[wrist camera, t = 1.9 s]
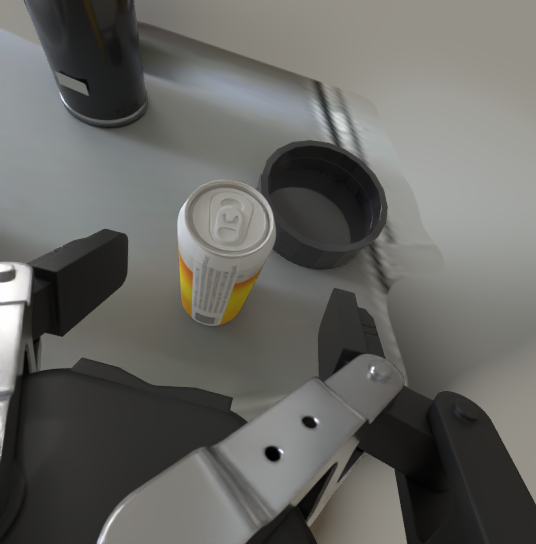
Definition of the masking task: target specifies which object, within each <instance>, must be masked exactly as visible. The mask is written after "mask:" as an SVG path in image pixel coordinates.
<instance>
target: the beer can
mask: <svg viewBox="0 0 536 544" xmlns="http://www.w3.org/2000/svg"><path fill="white" fill-rule="evenodd" d="M177 228H178V247H179V265H180V283H181V300H182V304H183V307H184V309H185V311H186V312H187V314H188V315H189V316H190V317H191V318H192V319H194V320H195V321H197V322H199V323H201V324H204V325H209V326H217V325H222V324H225V323H227V322H229V321H231V320H232V319H233V318H235V317H236V316H237V315H238V313H239V312H240V310H241V308H242V306H243V304H244V302H245V300H246V299H247V297H248V295H249V293H250V291H251V289H252V287H253V285H254V283H255V281H256V279H257V277H258V275H259V273H260V271H261V269H262V267H263V265H264V264H265V262H266V260H267V258H268V256H269V254H270V252H271V250H272V248H273V246H274V243H275V239H276V226H275V222H274V216H273V212H272V209H271V207H270V205H269V203H268V201H267V200H266V199H265V198H264V196H263V195H262V194H261V193H259V192H258V191H257V190H256V189H254V188H252V187H251V186H249V185H247V184H244V183H242V182H238V181H233V180H216V181H212V182H209V183H206V184H204V185H202V186H200V187H199V188H197V189H196V190H195V191H194V192H193V193H192V194H191V196H190V197H189V199H188V200H187V201H186V202H185V204H184V205H183V206H182V208H181V210H180V213H179V216H178V222H177Z"/></svg>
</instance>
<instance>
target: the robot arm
mask: <svg viewBox="0 0 536 544" xmlns="http://www.w3.org/2000/svg"><path fill="white" fill-rule="evenodd" d="M24 2H25V4H26V7H27V10H28V12H29V15H30V17H31V19H32V22H33V25H34V27H35V29H36V32H37V35H38V37H39V40H40V42H41V45H42V47H43V50H44V52H45V55H46V57H47V60H48V62H49V65H50V67H51V70H52V73H53V75H54V78H55V80H56V83H57V85H58V88H59V90H60V95H61V98H62V100H63V103H64V105H65V107H66V109H67V110H68V111H69V112H70V113H71V114H72V115H73V116H74V117H76V118H77V119H79V120H81V121H83V122H85V123H87V124H91V125H94V126H100V127H118V126H123V125H127V124H129V123H132V122H134V121H135V120H137V119H138V118H140V117H141V116H142V115H143V113H144V112H145V110H146V108H147V104H148V99H147V91H146V88H145V83H144V75H143V66H142V58H141V51H140V43H139V36H138V28H137V20H136V13H135V5H134V0H24ZM127 269H128V237H127V235H126V234H124V233H120V232H116V231H112V230H108V229H103V230H101V231H99V232H97V233H95V234H93V235H91V236H89V237H87V238H82V239H78V240H74V241H71V242H69V243H67V244H65V245H63V247H59V248H57V249H55V250H54V251H53V252H49V253H47V254H45V255H43V256H41V257H39V258H37V259H35V260H33V261H31V262H29V263H27V264H24V263H19V262H0V544H317V542H316V540H315V538H314V536H313V534H312V532H311V531H310V529H309V527H310V525H311V524H312V523H313V522H314V520H315V519H316V517H317V516H318V515H319V513H320V512H321V510H322V509H323V507H324V506H325V504H326V503H327V501H328V500H329V498H330V497H331V496H332V494H333V493H334V492H335V490H336V489H337V488H338V487H339V486H340V484H341V483H342V482H343V481H344V479H345V478H346V477H347V476H348V474H349V473H350V472H351V471H352V470H353V468H354V467H355V466H356V465H357V464H358V462H359V461H360V460H361V459H362V457H363V456H364V455H365V454H366V452H367V453H368V454H370V455H372V456H373V457H375V458H377V459H379V460H380V461H382V462H384V463H386V464H388V465H389V466H391V467H392V468H394V469H395V475H396V481H397V486H398V493H399V498H400V504H401V510H402V515H403V521H404V527H405V533H406V539H407V544H536V504H535V502H534V500H533V498H532V496H531V495H530V493H529V491H528V489H527V487H526V485H525V483H524V481H523V480H522V478H521V476H520V474H519V472H518V470H517V468H516V466H515V464H514V463H513V461H512V459H511V457H510V455H509V453H508V451H507V449H506V447H505V446H504V444H503V442H502V440H501V438H500V436H499V434H498V432H497V431H496V429H495V427H494V425H493V423H492V421H491V419H490V418H489V417H488V415H487V414H486V413H485V412H484V411H483V410H482V409H481V408H480V407H479V406H478V405H477V404H475V403H474V402H473V401H471V400H469V399H468V398H466V397H464V396H462V395H460V394H457V393H454V392H449V391H443V392H440V393H438V394H437V396H436V397H435V399H434V400H431V399H428V398H427V397H425V396H423V395H421V394H419V393H416V392H414V391H413V390H411V389H409V388H407V387H406V386H404V378H403V375H402V374H401V372H400V371H399V370H398V369H397V367H395V366H394V365H393V364H392V363H391V362H389V361H387V360H386V359H385V356H384V353H383V350H382V346H381V343H380V340H379V337H378V333H377V330H376V326H375V323H374V320H373V318H372V316H371V315H370V314H369V313H368V312H367V311H366V309H363V308H359V307H358V306H357V302H356V297H355V294H354V293H352V292H348V291H344V290H340V289H337V288H334V289H333V291H332V293H331V296H330V299H329V302H328V304H327V307H326V310H325V313H324V316H323V319H322V321H321V325H320V328H319V334H318V359H319V378H318V377H313V378H311V379H309V380H308V381H306V382H305V383H304V384H302V385H301V386H299V387H298V388H296V389H295V390H294V391H292V392H291V393H289V394H288V395H286V396H285V397H284V398H282V399H281V400H279V401H278V402H276V403H275V404H274V405H272V406H271V407H269V408H268V409H266V410H265V411H264V412H262V413H261V414H259V415H258V416H257V417H255V418H254V419H252V420H251V421H249V422H247V421H246V420H245V419H243V418H242V417H241V416H239V415H238V414H236V413H234V412H233V411H231V410H230V408H231V404H232V400H233V398H232V397H228V396H224V395H221V394H217V393H213V392H209V391H206V390H202V389H198V388H190V387H171V386H155V385H151V384H149V383H147V382H145V381H143V380H141V379H139V378H137V377H136V376H134V375H132V374H130V373H128V372H126V371H125V370H123V369H121V368H119V367H115V366H112V365H108V364H104V363H100V362H97V361H93V360H89V359H85V358H81V359H80V360H79V361H78V362H77V363H76V364H75V365H74V366H73V367H72V368H62V369H50V370H43V371H40V370H41V347H42V343H41V335H43V334H44V333H45V332H46V333H50V334H53V335H57V336H61V337H63V336H64V335H65V334H66V333H67V332H68V331H70V330H71V329H72V328H73V327H74V326H75V325H77V324H78V323H79V322H80V321H81V320H82V319H84V318H85V317H86V316H87V315H88V314H89V313H91V312H92V311H93V310H94V309H95V308H96V307H98V306H99V305H100V304H101V303H102V302H103V301H105V300H106V299H107V298H108V297H109V296H110V295H112V294H113V293H114V292H115V291H116V290H117V289H119V288H120V287H121V286H122V285H123V283H124V281H125V279H126V276H127Z"/></svg>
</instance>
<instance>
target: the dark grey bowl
mask: <svg viewBox="0 0 536 544" xmlns="http://www.w3.org/2000/svg"><path fill="white" fill-rule="evenodd" d="M257 191H258V192H259V193H261V194H262V195H263V196H264V198H265V199H266V200H267V201H268V203H269V205H270V207H271V209H272V212H273V216H274V222H275V226H276V239H275V243H274V246H273V249H274V250H275V251H276V252H277V253H278V254H280V255H281V256H283V257H284V258H285V259H287V260H289V261H291V262H293V263H295V264H298V265H300V266H304V267H307V268H313V269H331V268H336V267H340V266H342V265H344V264H347V263H348V262H350V261H351V260H353V259H354V258H355V257H356V256H358V255H359V254H360V253H361V252H362V251H364V250H365V249H366V248H367V247H368V246H369V245H370V244H371V243H372V242H373V241H374V240H375V239H376V238H377V237H378V236H379V234H380V233H381V231H382V229H383V227H384V226H385V224H386V217H387V208H388V207H387V202H386V197H385V193H384V189H383V188H382V186H381V184H380V182H379V181H378V179H377V177H376V175H375V174H374V173H373V172H372V171H371V170H370V169H369V168H368V166H367V165H366V164H365V163H364V162H363V161H362V160H360V159H359V158H357V157H356V156H354V155H353V154H351V153H350V152H348V151H347V150H345V149H343V148H340V147H338V146H335V145H333V144H330V143H326V142H319V141H312V140H307V141H299V142H292V143H290V144H288V145H286V146H283V147H281V148H279V149H277V150H276V151H275V152H274V153H273V154H272V155H271V157H270V158H269V159H268V160H267V161H266V163H265V166H264V169H263V171H262V174H261V177H260V180H259V184H258V187H257Z"/></svg>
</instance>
